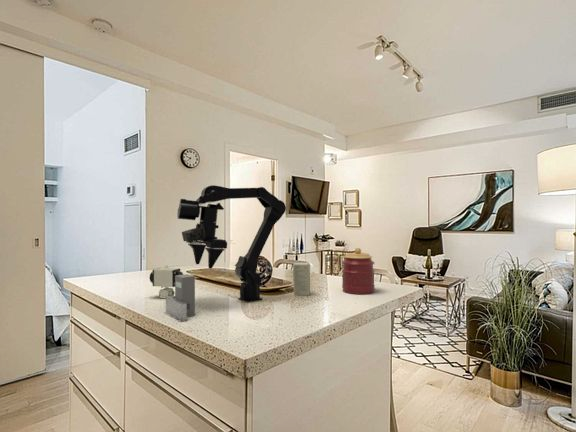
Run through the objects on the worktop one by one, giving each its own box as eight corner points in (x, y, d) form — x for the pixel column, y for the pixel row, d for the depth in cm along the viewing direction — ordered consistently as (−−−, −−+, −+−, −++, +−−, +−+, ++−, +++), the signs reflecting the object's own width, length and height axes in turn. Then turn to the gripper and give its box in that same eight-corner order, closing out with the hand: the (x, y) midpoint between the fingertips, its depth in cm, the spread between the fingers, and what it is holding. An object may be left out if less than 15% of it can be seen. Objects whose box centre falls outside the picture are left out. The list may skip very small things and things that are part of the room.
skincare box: (310, 293, 131) (310, 262, 131) (309, 295, 127) (308, 264, 127) (294, 292, 132) (294, 262, 132) (292, 295, 128) (292, 263, 128)
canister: (341, 294, 129) (340, 249, 130) (343, 287, 142) (342, 246, 142) (375, 295, 127) (374, 249, 127) (374, 288, 139) (373, 246, 140)
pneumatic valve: (177, 299, 122) (177, 267, 122) (149, 298, 124) (149, 266, 124) (185, 296, 127) (184, 265, 128) (157, 295, 130) (157, 264, 130)
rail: (174, 310, 107) (174, 295, 107) (190, 319, 97) (190, 302, 97) (165, 312, 105) (165, 296, 105) (181, 321, 95) (181, 304, 95)
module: (187, 311, 106) (187, 274, 106) (195, 315, 102) (194, 276, 102) (175, 314, 103) (175, 275, 103) (182, 317, 99) (182, 277, 99)
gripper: (174, 218, 117) (170, 262, 116) (199, 221, 103) (194, 271, 102) (203, 220, 124) (198, 262, 124) (230, 223, 110) (225, 270, 110)
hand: (203, 266), depth 115 cm, fingers open, 9 cm apart
